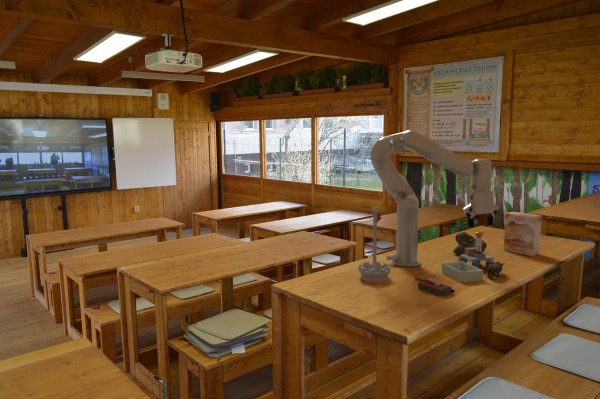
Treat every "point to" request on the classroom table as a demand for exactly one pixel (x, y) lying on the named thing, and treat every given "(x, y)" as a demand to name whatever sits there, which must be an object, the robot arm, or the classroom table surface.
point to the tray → (462, 271)
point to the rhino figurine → (494, 269)
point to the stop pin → (478, 242)
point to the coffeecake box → (522, 233)
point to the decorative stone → (466, 243)
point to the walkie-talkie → (434, 287)
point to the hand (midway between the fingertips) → (480, 226)
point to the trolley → (475, 257)
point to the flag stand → (374, 258)
